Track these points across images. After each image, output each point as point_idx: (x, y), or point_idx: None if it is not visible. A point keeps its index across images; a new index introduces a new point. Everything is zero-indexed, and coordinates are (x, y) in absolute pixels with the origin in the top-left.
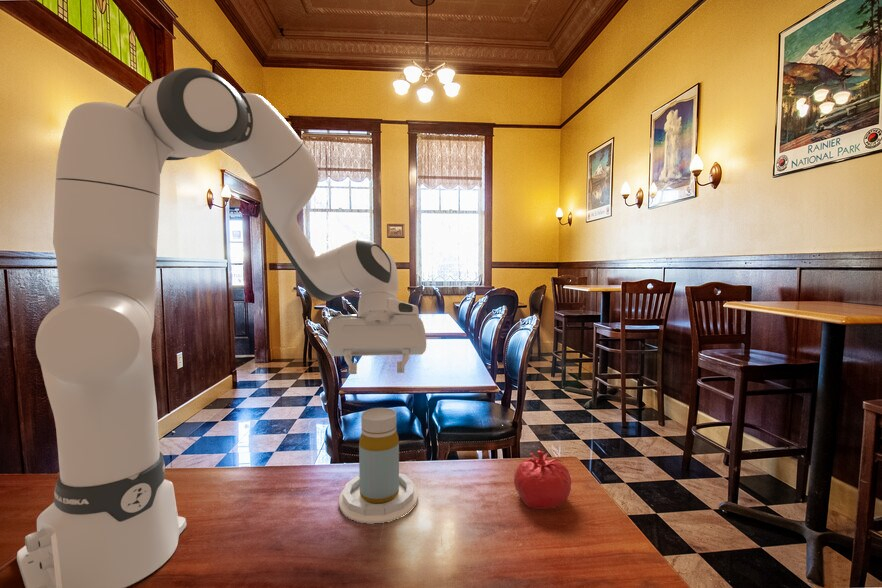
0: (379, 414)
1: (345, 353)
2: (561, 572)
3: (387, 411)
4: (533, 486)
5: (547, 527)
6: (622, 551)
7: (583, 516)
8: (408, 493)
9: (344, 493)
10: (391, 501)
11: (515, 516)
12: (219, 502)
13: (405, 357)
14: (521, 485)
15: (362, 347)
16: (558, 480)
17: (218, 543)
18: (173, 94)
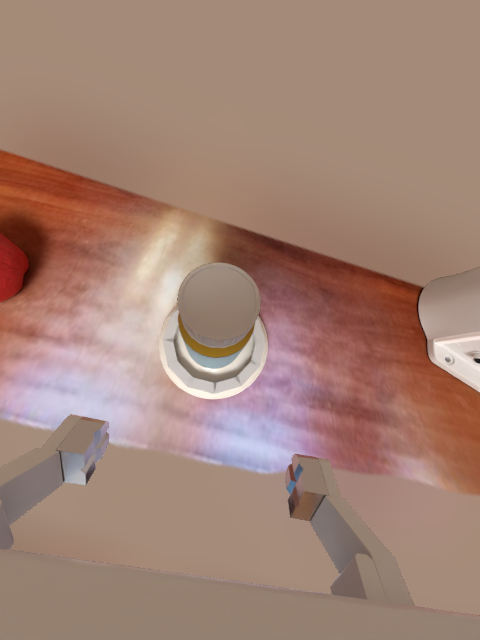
0: (218, 301)
1: (391, 568)
2: (72, 181)
3: (195, 312)
4: (3, 238)
5: (34, 231)
6: None
7: None
8: (177, 315)
9: (262, 341)
10: None
11: (57, 259)
12: (413, 398)
13: (10, 470)
14: (15, 254)
15: (295, 590)
16: None
17: (383, 316)
18: None
